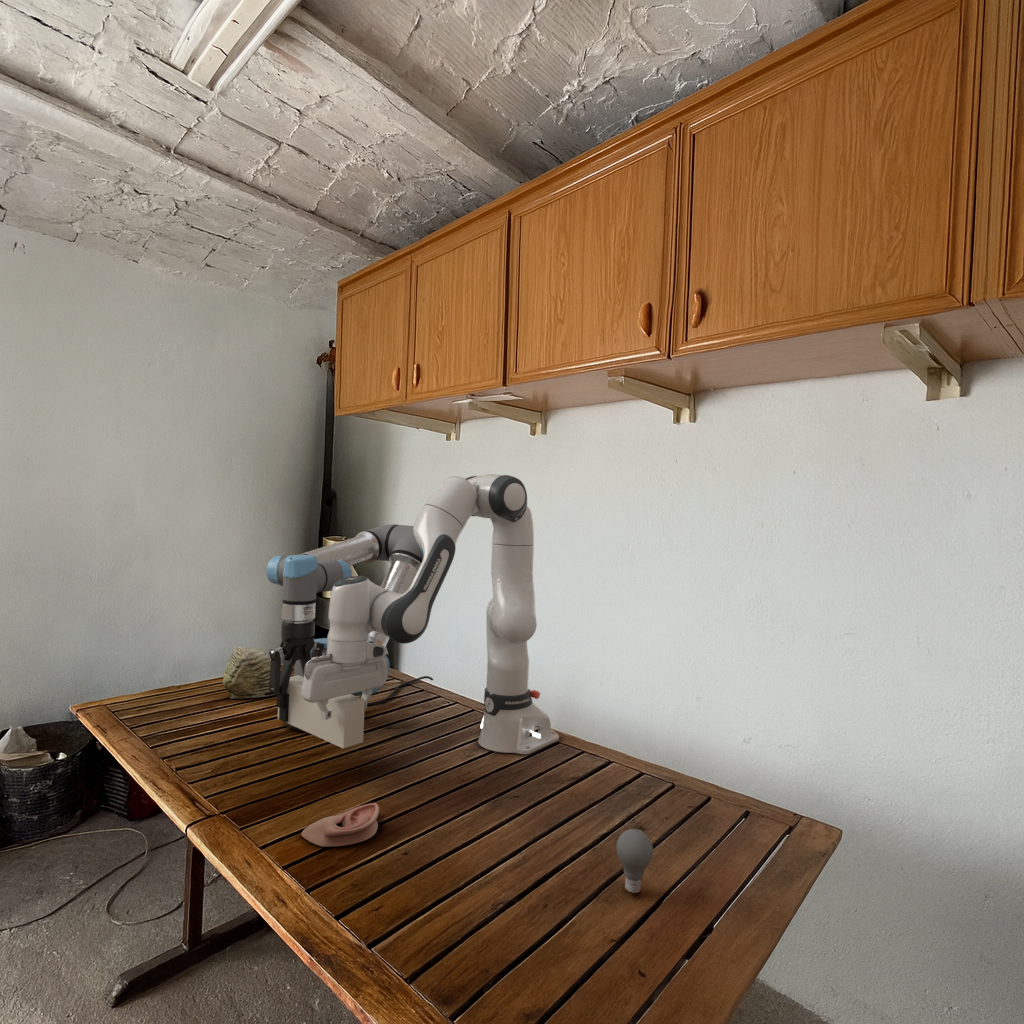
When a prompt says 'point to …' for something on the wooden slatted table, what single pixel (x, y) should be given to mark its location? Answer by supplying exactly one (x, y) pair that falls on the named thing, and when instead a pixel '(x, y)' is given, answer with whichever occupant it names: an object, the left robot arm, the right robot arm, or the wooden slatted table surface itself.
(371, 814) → the anatomical model
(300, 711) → the bar
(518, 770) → the wooden slatted table surface
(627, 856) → the light bulb
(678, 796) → the wooden slatted table surface
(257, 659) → the fossil
